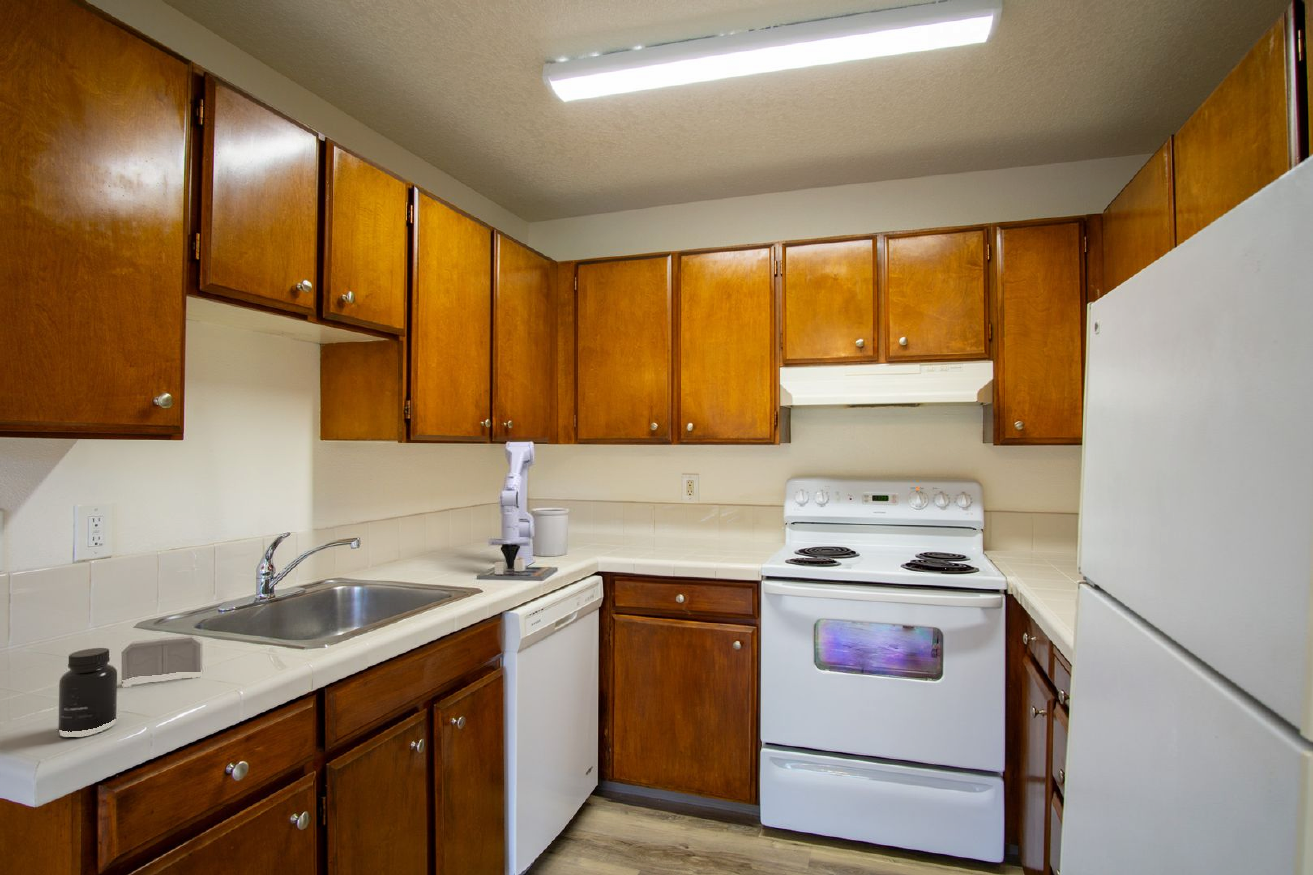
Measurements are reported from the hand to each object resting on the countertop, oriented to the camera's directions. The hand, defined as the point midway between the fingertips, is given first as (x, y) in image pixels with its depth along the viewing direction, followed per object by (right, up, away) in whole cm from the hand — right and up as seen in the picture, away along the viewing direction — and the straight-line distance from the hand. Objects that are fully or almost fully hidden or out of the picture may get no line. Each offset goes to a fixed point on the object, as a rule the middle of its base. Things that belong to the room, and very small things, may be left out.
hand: (510, 567), depth 218 cm
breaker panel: (+3, -2, 0) cm, 4 cm away
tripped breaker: (+3, -1, 0) cm, 3 cm away
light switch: (-44, -3, -96) cm, 105 cm away
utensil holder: (+7, -3, +41) cm, 41 cm away
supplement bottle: (-40, -2, -116) cm, 123 cm away
